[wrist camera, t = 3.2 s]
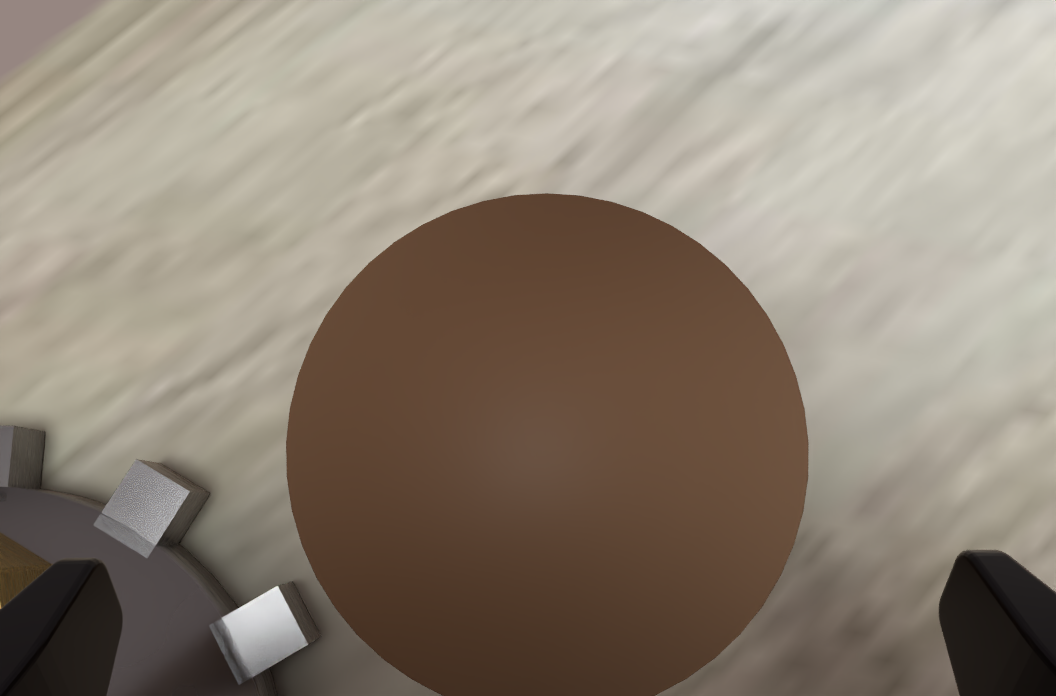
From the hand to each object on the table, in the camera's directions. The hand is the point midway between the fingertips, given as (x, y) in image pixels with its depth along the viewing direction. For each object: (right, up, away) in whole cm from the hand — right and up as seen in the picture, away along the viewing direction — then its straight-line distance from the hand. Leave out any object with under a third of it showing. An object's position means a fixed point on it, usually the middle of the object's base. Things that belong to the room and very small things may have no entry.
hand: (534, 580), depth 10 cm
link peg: (0, 0, +9) cm, 9 cm away
